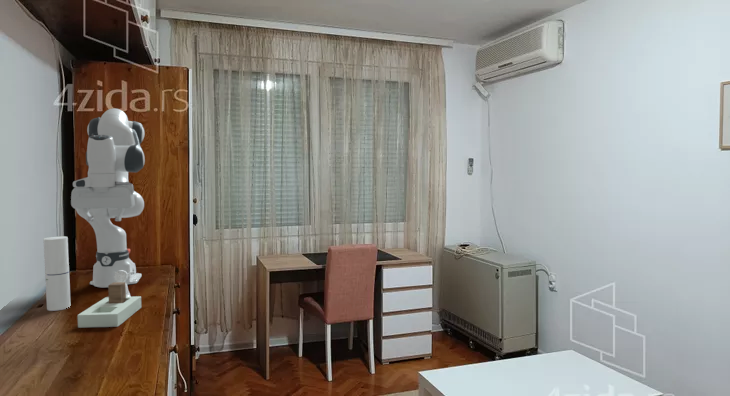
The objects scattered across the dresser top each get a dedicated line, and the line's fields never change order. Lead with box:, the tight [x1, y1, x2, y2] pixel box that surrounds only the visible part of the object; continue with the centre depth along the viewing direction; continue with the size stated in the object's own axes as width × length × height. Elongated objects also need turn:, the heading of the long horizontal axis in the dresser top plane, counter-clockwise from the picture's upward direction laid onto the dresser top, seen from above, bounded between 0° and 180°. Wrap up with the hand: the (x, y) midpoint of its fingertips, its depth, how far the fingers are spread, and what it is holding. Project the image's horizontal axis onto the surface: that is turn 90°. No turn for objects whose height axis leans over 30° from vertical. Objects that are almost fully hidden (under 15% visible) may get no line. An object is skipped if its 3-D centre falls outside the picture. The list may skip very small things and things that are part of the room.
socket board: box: [77, 295, 142, 329], centre depth 162 cm, size 20×12×4 cm, turn 5°
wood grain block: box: [107, 282, 126, 303], centre depth 167 cm, size 4×4×10 cm
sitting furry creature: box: [114, 270, 132, 297], centre depth 178 cm, size 10×9×12 cm
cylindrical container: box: [43, 235, 72, 312], centre depth 171 cm, size 7×7×25 cm
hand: (104, 221), depth 170 cm, fingers open, 8 cm apart
